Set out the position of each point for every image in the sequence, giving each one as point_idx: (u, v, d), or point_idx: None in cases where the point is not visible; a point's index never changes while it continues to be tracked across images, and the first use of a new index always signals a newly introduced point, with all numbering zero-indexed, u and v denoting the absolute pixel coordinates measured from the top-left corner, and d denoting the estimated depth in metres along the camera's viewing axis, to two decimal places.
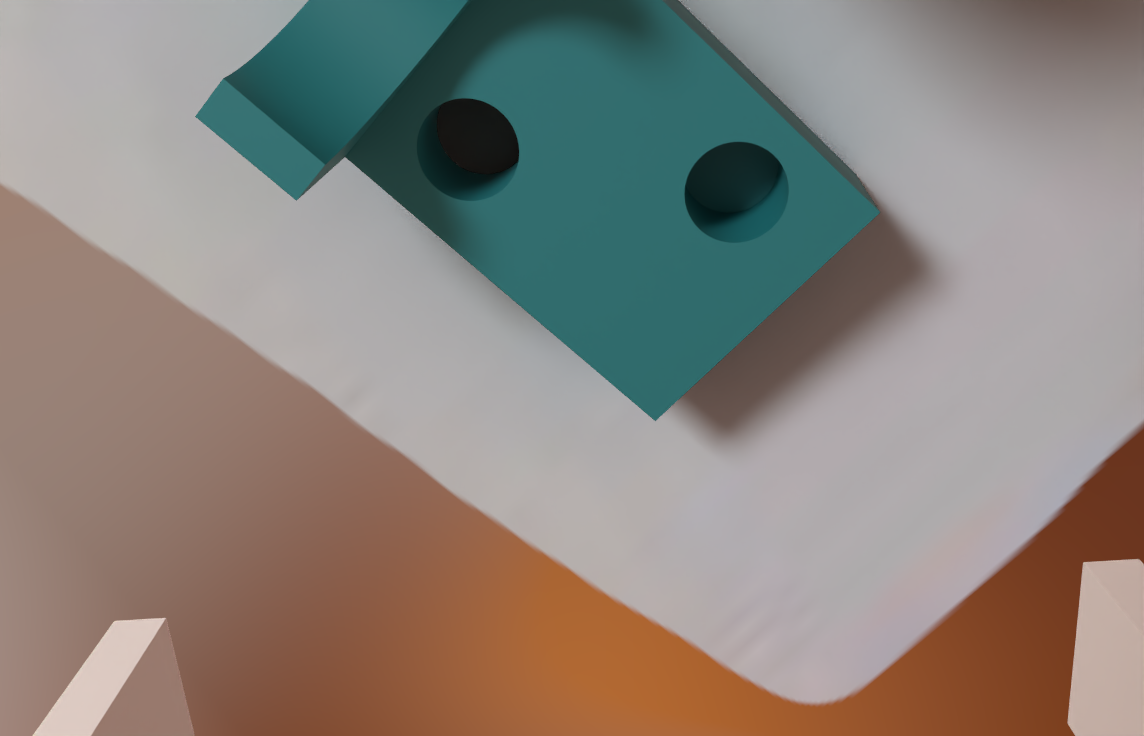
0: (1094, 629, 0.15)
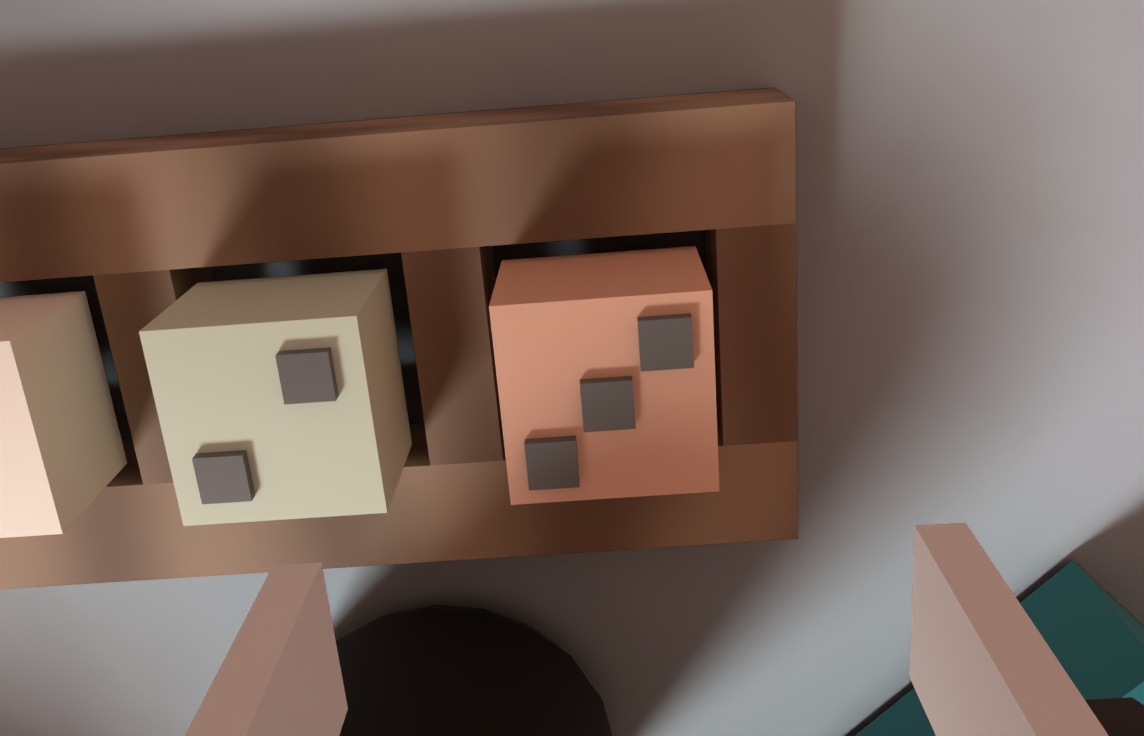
0: (922, 586, 0.16)
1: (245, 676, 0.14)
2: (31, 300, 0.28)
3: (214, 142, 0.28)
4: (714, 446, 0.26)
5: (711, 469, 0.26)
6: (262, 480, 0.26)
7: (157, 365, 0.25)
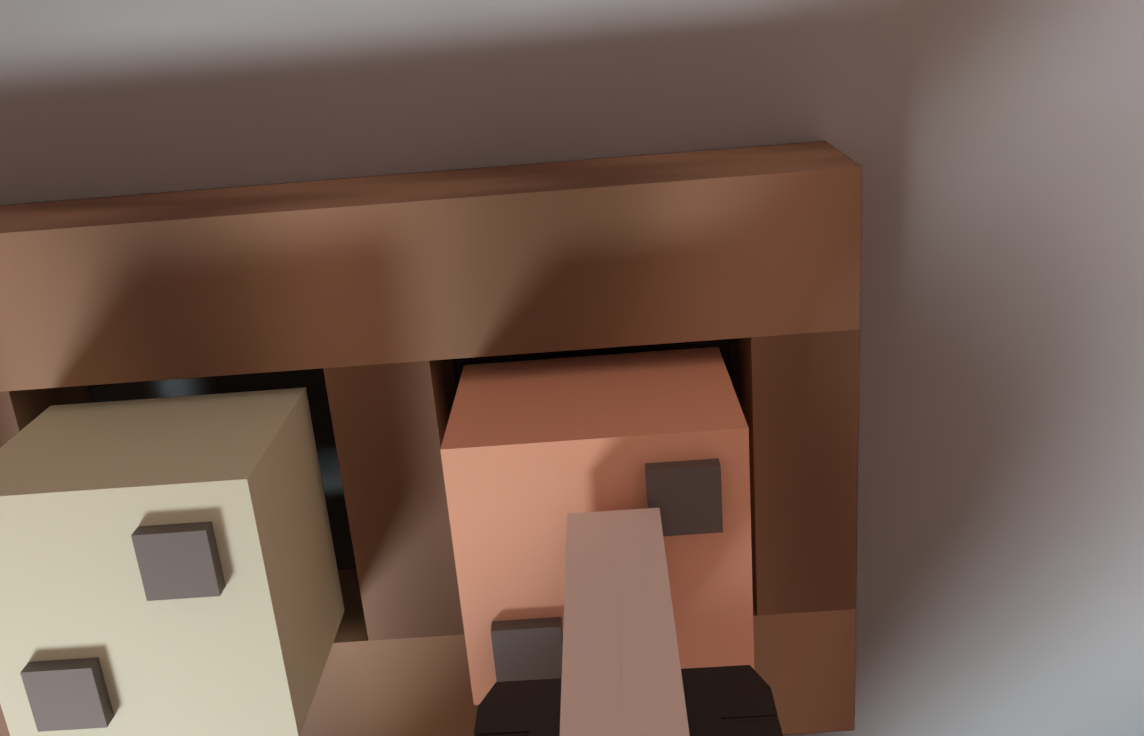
0: None
1: (593, 608, 0.15)
2: None
3: (68, 219, 0.20)
4: (748, 630, 0.19)
5: (744, 660, 0.19)
6: (123, 696, 0.19)
7: None
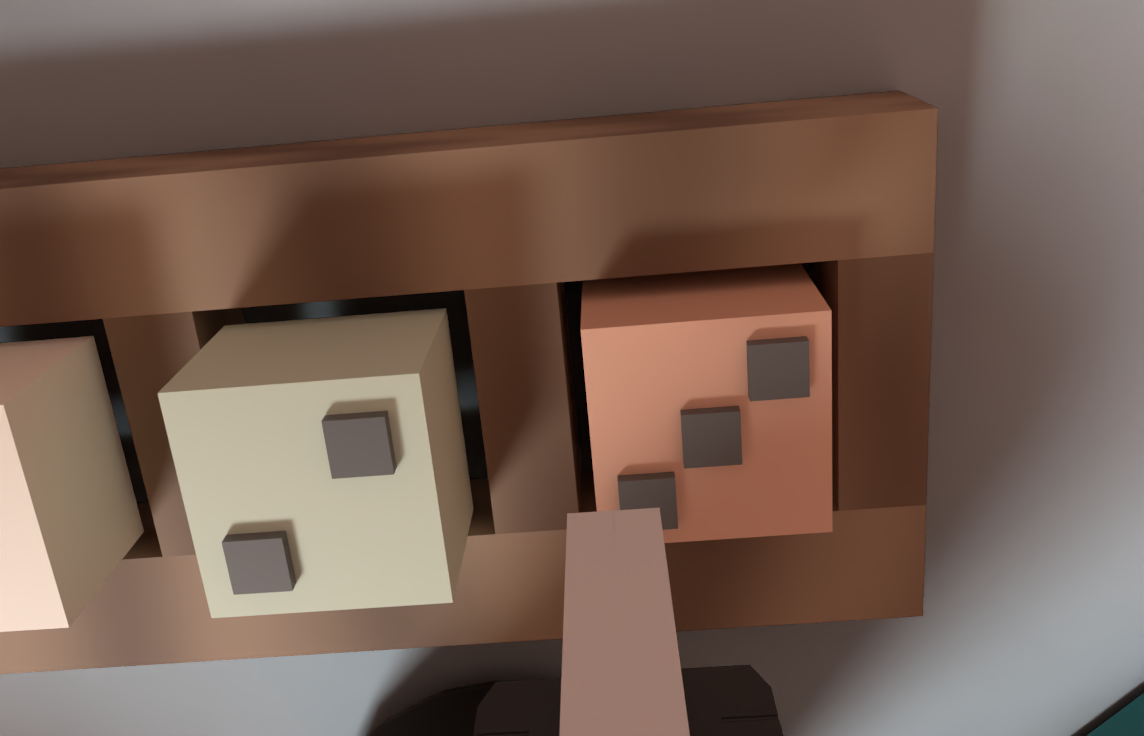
0: None
1: (593, 609, 0.15)
2: (31, 348, 0.24)
3: (243, 161, 0.23)
4: (828, 482, 0.23)
5: (824, 508, 0.23)
6: (304, 565, 0.22)
7: (179, 432, 0.21)
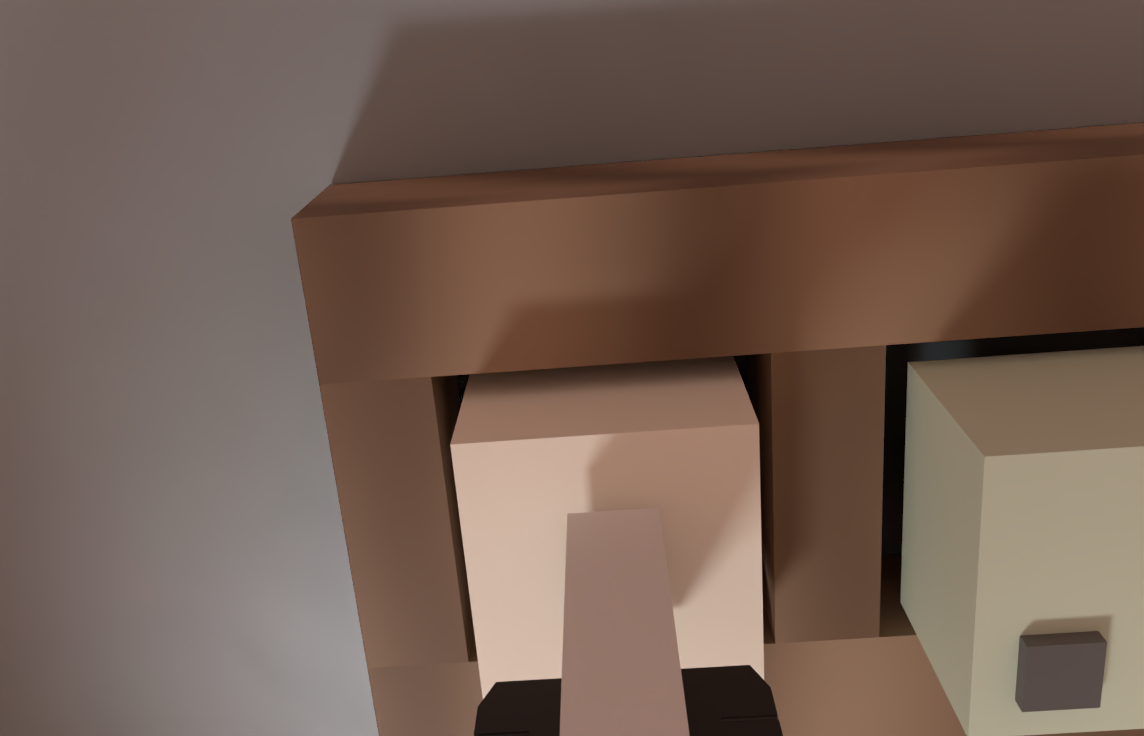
0: None
1: (593, 609, 0.15)
2: None
3: (964, 158, 0.19)
4: None
5: None
6: (1109, 673, 0.17)
7: (999, 507, 0.16)
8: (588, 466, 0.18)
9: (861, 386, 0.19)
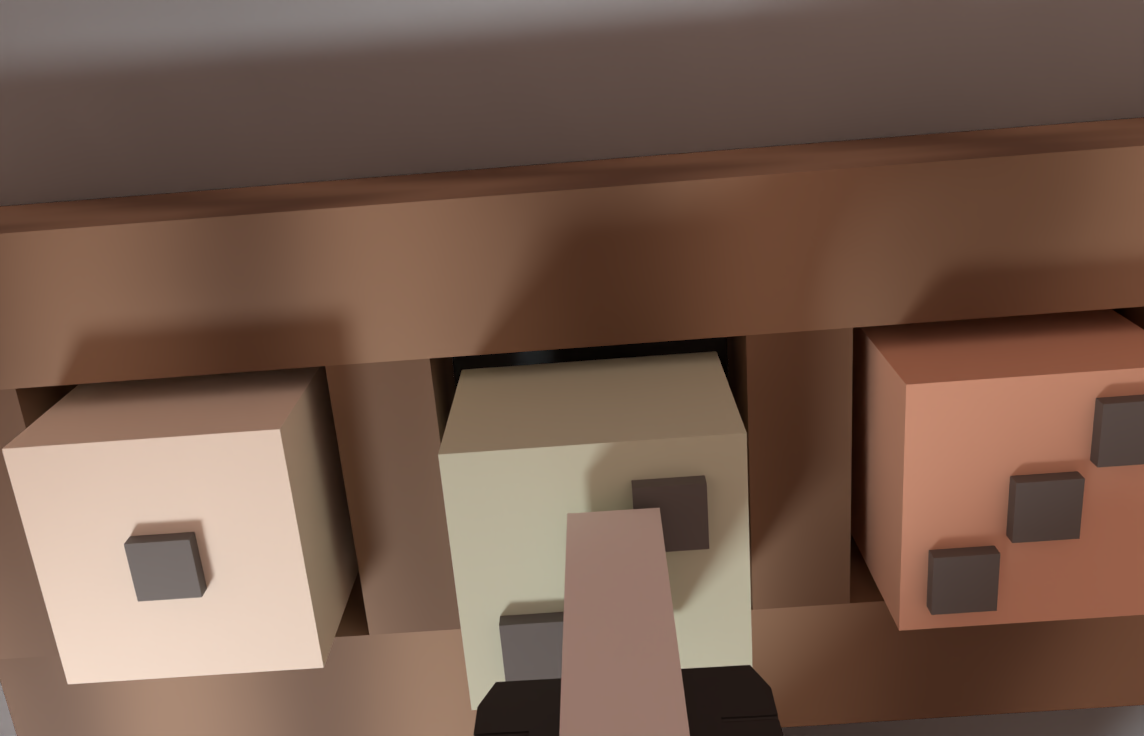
0: None
1: (593, 609, 0.15)
2: None
3: (494, 187, 0.20)
4: None
5: None
6: None
7: (458, 499, 0.18)
8: (130, 469, 0.20)
9: (412, 396, 0.21)
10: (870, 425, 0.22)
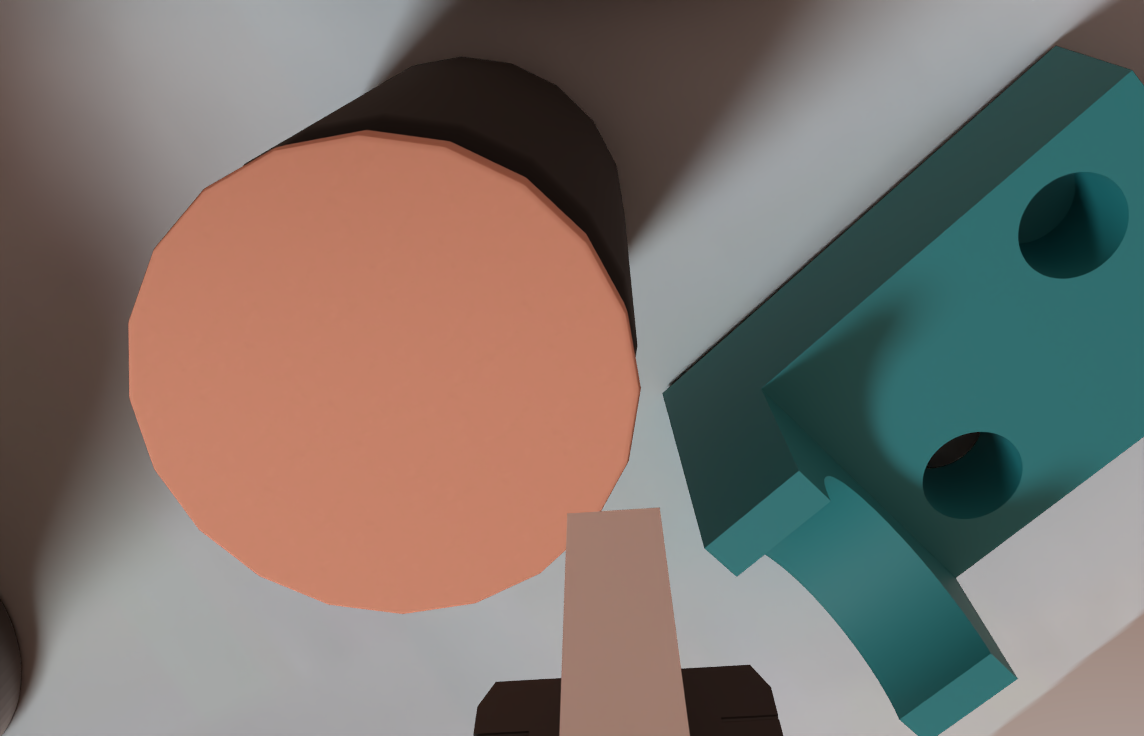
0: None
1: (593, 608, 0.15)
2: None
3: None
4: None
5: None
6: None
7: None
8: None
9: None
10: None
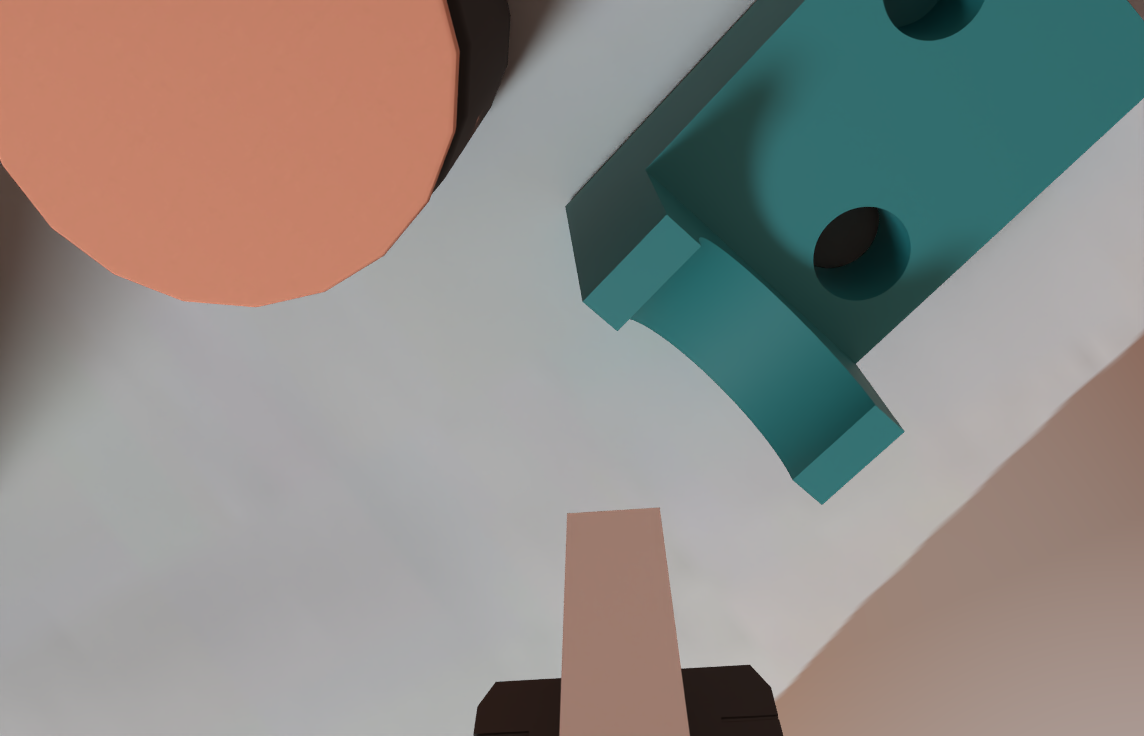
0: None
1: (593, 608, 0.15)
2: None
3: None
4: None
5: None
6: None
7: None
8: None
9: None
10: None
